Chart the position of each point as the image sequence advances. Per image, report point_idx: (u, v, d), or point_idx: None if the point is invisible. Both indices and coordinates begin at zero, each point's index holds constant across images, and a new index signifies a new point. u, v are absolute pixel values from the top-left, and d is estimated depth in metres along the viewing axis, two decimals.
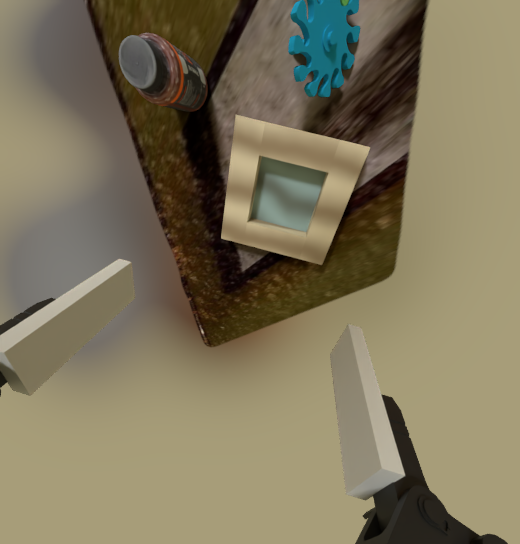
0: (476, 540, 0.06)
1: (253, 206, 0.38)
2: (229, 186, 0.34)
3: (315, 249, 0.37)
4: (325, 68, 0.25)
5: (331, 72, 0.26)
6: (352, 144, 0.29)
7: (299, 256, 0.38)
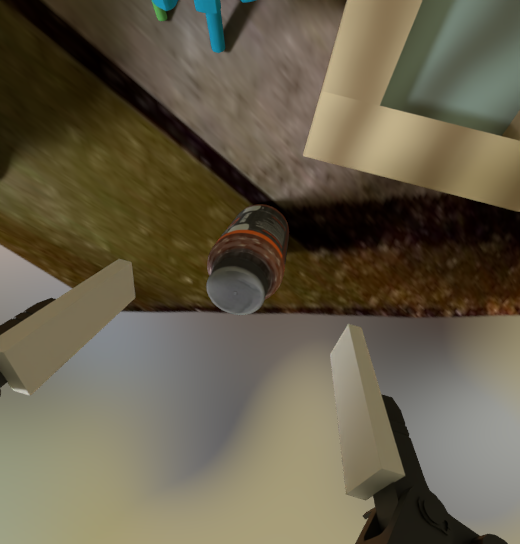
0: (476, 540, 0.06)
1: None
2: (421, 181, 0.17)
3: None
4: None
5: None
6: None
7: None
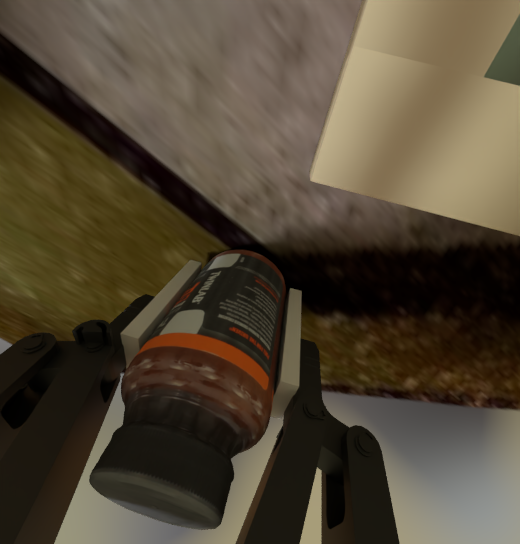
0: (344, 435, 0.08)
1: None
2: None
3: None
4: None
5: None
6: None
7: None
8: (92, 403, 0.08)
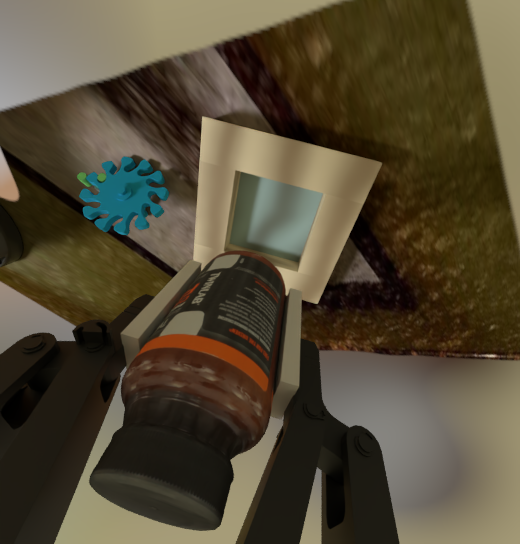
0: (344, 435, 0.08)
1: (284, 257, 0.31)
2: None
3: (349, 177, 0.23)
4: (143, 194, 0.27)
5: (147, 187, 0.27)
6: (202, 143, 0.23)
7: (358, 203, 0.24)
8: (92, 403, 0.08)
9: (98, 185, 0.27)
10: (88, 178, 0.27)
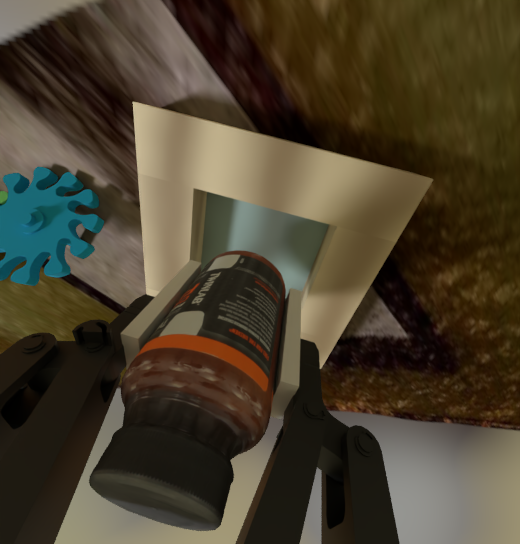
0: (344, 435, 0.08)
1: None
2: None
3: (375, 201, 0.14)
4: (61, 225, 0.18)
5: (69, 214, 0.18)
6: (138, 145, 0.15)
7: (388, 241, 0.15)
8: (92, 403, 0.08)
9: None
10: None
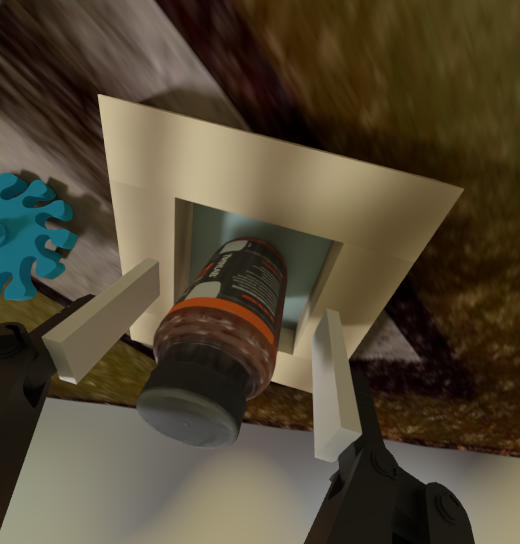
0: (421, 490, 0.07)
1: None
2: None
3: (391, 214, 0.11)
4: (26, 241, 0.16)
5: (37, 228, 0.16)
6: (107, 147, 0.12)
7: (405, 261, 0.13)
8: (15, 408, 0.07)
9: None
10: None
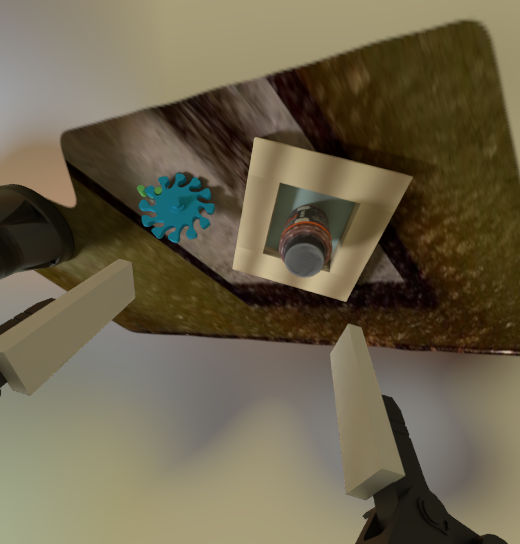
0: (476, 540, 0.06)
1: None
2: (289, 283, 0.34)
3: (382, 189, 0.26)
4: (193, 208, 0.31)
5: (198, 202, 0.31)
6: (252, 159, 0.27)
7: (389, 212, 0.27)
8: None
9: (155, 197, 0.31)
10: (146, 190, 0.31)
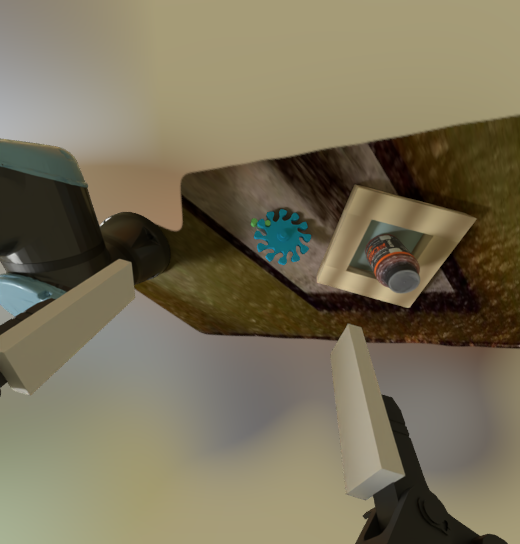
0: (476, 540, 0.06)
1: None
2: (363, 294, 0.43)
3: (452, 226, 0.34)
4: (296, 238, 0.39)
5: (298, 233, 0.39)
6: (352, 202, 0.35)
7: (455, 242, 0.36)
8: None
9: (266, 228, 0.39)
10: (259, 223, 0.39)
